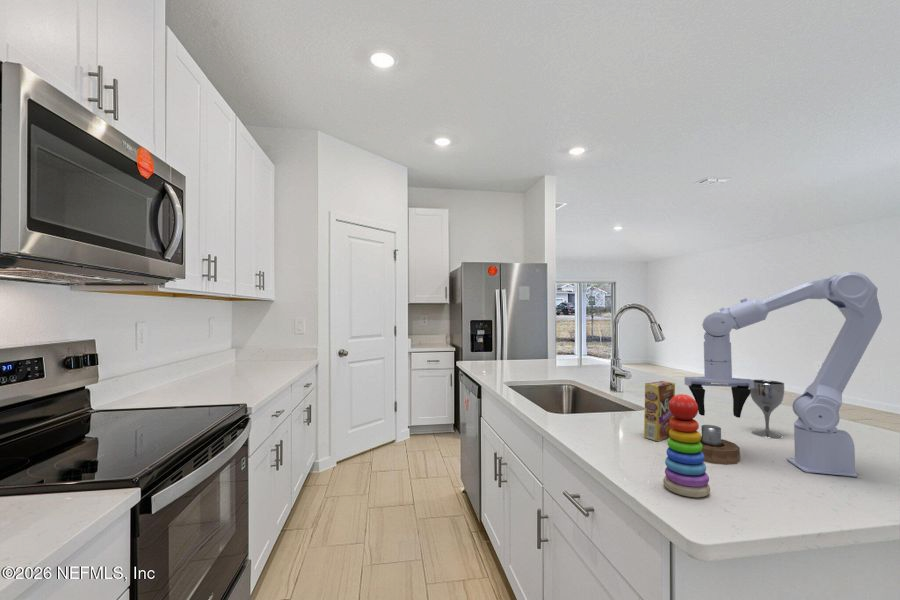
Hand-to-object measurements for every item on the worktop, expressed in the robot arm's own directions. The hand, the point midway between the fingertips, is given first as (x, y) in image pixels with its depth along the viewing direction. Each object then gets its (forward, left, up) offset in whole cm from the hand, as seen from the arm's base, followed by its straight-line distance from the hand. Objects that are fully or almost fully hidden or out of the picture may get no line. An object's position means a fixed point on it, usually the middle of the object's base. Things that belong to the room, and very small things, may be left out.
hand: (719, 415), depth 100 cm
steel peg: (+3, +2, -9) cm, 10 cm away
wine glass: (-18, -22, -10) cm, 30 cm away
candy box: (+12, -10, -10) cm, 18 cm away
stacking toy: (+14, +25, -10) cm, 30 cm away
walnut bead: (+3, +2, -9) cm, 10 cm away
